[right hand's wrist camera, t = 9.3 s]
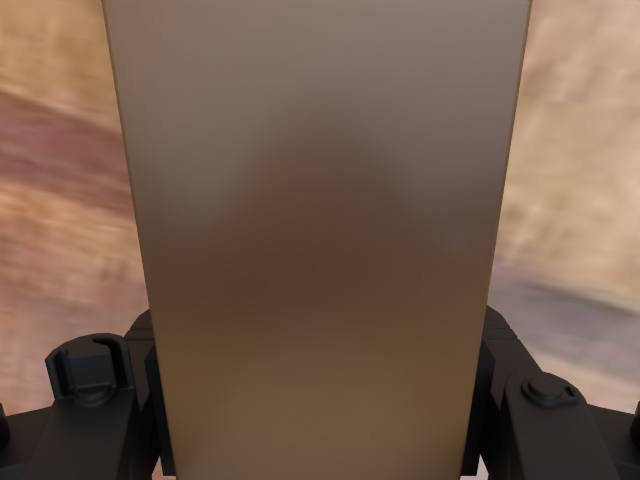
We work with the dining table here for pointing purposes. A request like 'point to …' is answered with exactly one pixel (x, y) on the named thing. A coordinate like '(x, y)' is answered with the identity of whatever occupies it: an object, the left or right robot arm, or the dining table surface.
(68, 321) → the dining table surface
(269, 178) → the bar
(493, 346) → the right robot arm
